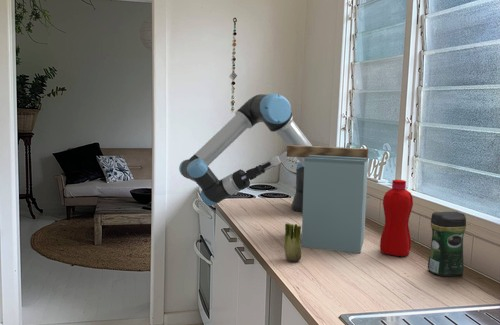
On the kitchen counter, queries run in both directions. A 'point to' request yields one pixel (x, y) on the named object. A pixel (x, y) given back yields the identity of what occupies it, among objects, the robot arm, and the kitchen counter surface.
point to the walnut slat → (325, 151)
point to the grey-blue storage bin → (334, 202)
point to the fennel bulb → (292, 242)
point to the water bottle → (396, 220)
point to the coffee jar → (447, 243)
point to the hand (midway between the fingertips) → (283, 157)
